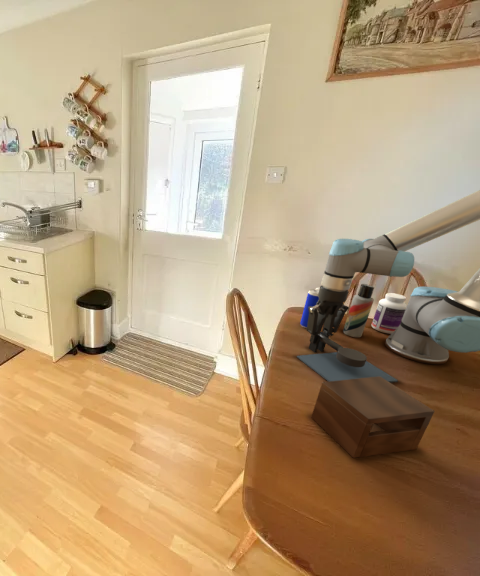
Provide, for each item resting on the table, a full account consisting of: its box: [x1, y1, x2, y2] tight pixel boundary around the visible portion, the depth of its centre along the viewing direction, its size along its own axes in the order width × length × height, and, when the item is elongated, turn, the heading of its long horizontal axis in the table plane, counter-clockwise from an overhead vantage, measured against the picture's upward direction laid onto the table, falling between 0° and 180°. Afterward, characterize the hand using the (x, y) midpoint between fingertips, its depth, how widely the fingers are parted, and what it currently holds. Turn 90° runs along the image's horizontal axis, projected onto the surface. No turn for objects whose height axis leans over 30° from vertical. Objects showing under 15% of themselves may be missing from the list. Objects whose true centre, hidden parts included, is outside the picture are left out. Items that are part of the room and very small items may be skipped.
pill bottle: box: [370, 292, 408, 335], centre depth 119 cm, size 8×8×14 cm
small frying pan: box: [309, 333, 368, 367], centre depth 101 cm, size 7×20×3 cm, turn 8°
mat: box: [296, 351, 399, 384], centre depth 98 cm, size 20×16×1 cm
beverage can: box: [299, 288, 319, 329], centre depth 122 cm, size 5×5×15 cm
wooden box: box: [310, 376, 436, 459], centre depth 73 cm, size 16×12×11 cm
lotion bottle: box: [342, 283, 375, 338], centre depth 115 cm, size 6×6×20 cm
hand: (315, 350), depth 109 cm, fingers closed on small frying pan, 2 cm apart
